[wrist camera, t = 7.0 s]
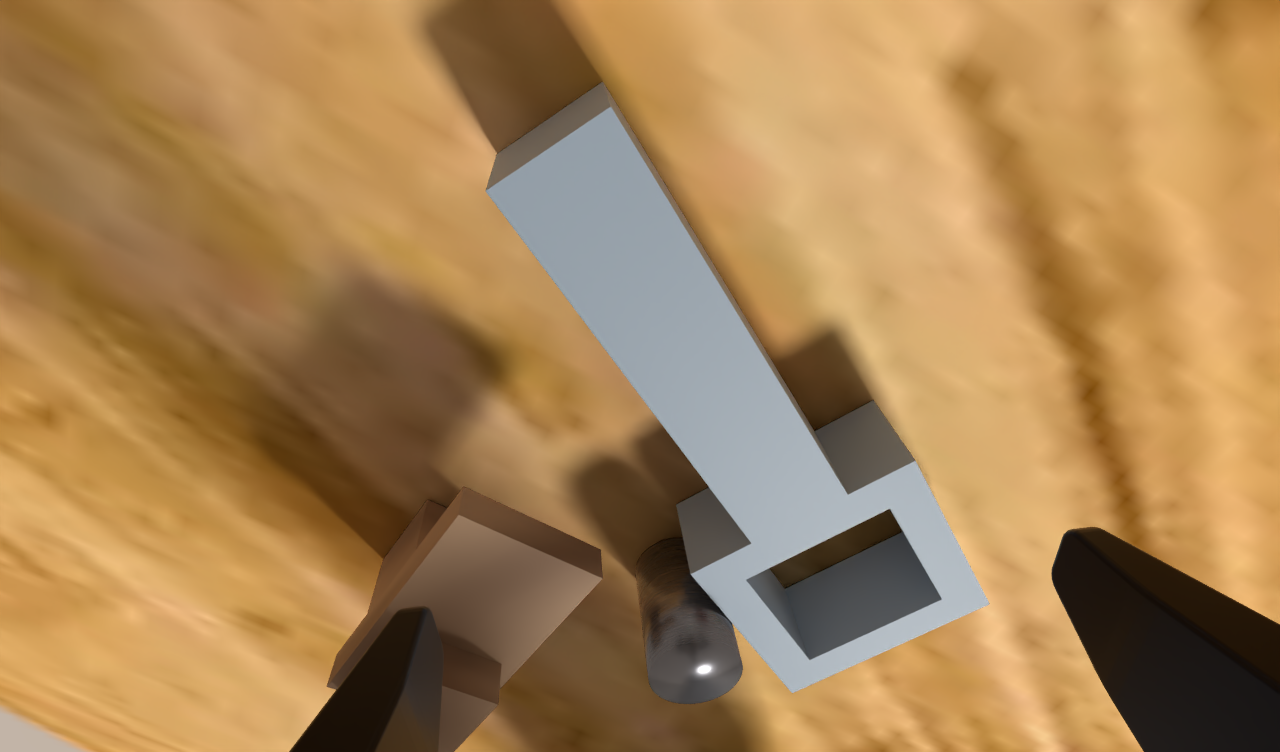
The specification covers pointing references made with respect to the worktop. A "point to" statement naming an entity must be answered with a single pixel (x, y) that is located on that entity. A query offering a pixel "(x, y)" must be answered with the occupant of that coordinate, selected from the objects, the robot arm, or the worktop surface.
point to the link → (732, 411)
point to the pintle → (683, 630)
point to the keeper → (477, 598)
